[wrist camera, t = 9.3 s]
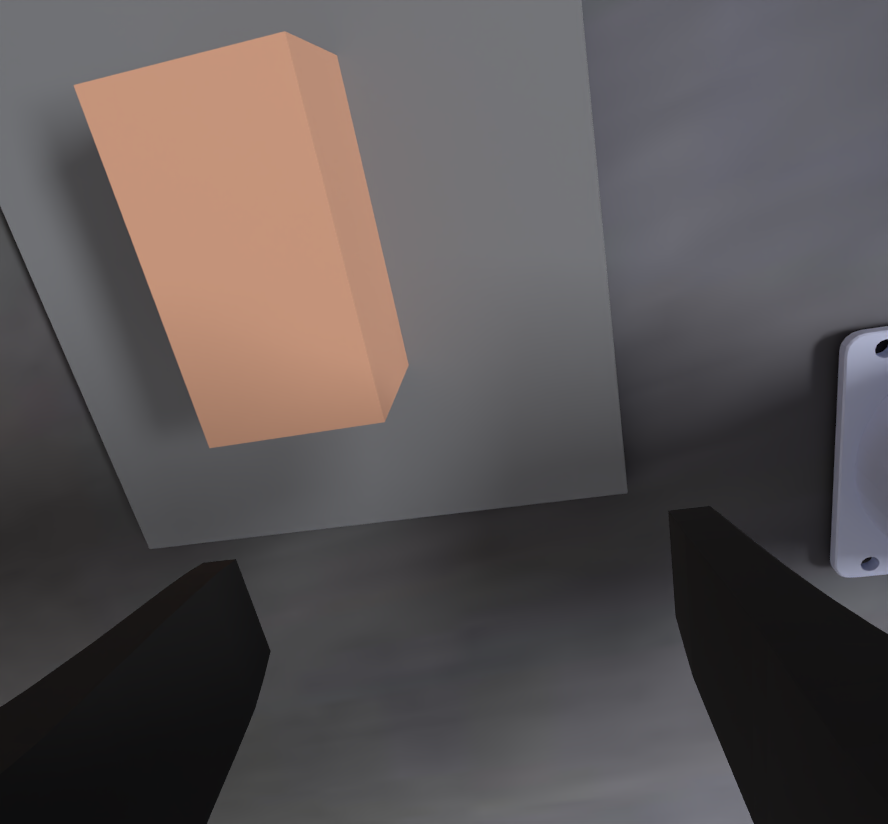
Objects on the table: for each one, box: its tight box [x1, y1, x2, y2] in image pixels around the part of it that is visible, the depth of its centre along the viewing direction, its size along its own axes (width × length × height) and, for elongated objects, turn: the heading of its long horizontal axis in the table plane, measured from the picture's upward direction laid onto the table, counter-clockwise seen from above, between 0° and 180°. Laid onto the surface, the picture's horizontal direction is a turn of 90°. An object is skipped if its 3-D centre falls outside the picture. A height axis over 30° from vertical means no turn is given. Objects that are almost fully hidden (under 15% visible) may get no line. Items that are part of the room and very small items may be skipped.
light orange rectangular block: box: [74, 31, 409, 448], centre depth 16 cm, size 8×4×4 cm, turn 11°
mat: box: [0, 0, 628, 549], centre depth 18 cm, size 16×18×1 cm
